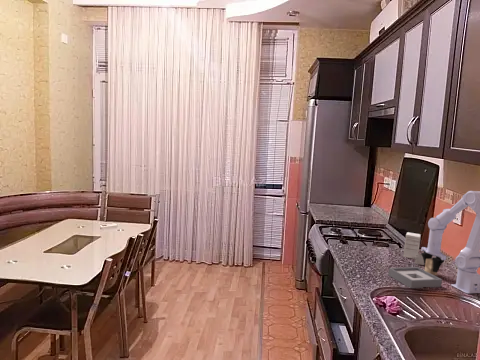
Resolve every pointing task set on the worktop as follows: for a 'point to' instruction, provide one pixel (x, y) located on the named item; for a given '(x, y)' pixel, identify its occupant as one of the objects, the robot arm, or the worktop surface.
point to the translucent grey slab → (419, 259)
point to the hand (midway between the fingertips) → (431, 269)
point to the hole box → (414, 277)
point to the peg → (429, 266)
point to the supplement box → (411, 245)
